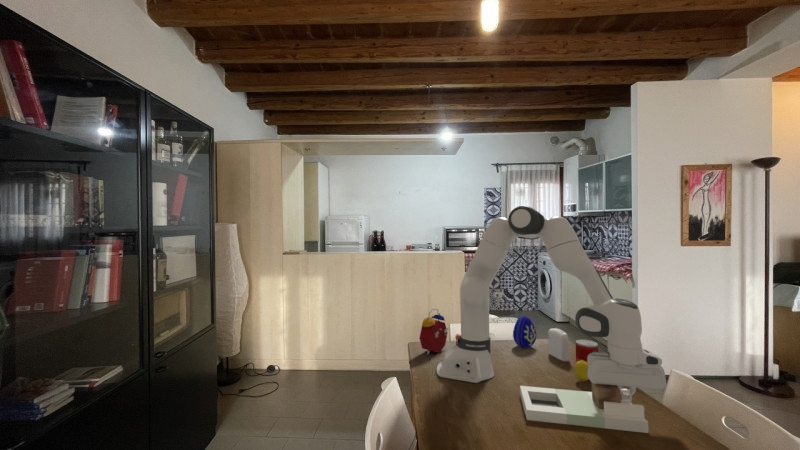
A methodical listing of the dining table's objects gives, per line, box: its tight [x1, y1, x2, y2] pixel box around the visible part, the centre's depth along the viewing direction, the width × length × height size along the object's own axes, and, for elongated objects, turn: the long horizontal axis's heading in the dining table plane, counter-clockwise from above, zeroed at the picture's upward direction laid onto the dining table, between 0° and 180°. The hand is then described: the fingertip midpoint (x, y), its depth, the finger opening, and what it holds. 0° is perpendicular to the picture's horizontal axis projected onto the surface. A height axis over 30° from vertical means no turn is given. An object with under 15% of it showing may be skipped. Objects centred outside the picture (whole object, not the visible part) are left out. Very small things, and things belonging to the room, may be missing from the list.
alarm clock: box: [419, 308, 450, 355], centre depth 158 cm, size 15×9×20 cm, turn 141°
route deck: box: [519, 385, 650, 434], centre depth 105 cm, size 32×16×6 cm, turn 77°
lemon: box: [573, 360, 589, 383], centre depth 126 cm, size 6×6×8 cm
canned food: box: [575, 339, 599, 363], centre depth 137 cm, size 8×8×11 cm
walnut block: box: [590, 381, 621, 409], centre depth 104 cm, size 6×6×6 cm
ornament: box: [512, 315, 537, 349], centre depth 164 cm, size 11×9×15 cm
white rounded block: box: [547, 327, 570, 362], centre depth 150 cm, size 10×4×12 cm, turn 13°
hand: (625, 399), depth 103 cm, fingers closed
